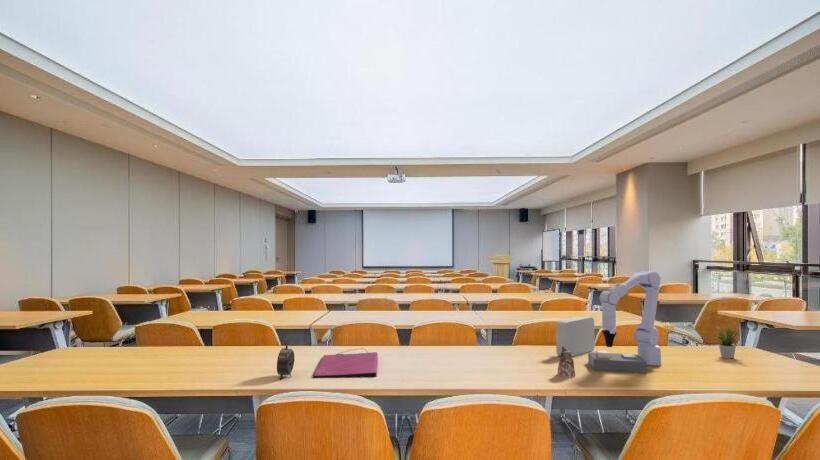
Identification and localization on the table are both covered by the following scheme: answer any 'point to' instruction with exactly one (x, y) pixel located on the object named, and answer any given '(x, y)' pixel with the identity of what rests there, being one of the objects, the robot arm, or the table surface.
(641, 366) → the key deck
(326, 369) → the laptop bag
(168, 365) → the table surface
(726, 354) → the house plant
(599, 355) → the ivory key
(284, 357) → the alarm clock
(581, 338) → the rounded white slab
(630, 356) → the slate blue key
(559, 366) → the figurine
